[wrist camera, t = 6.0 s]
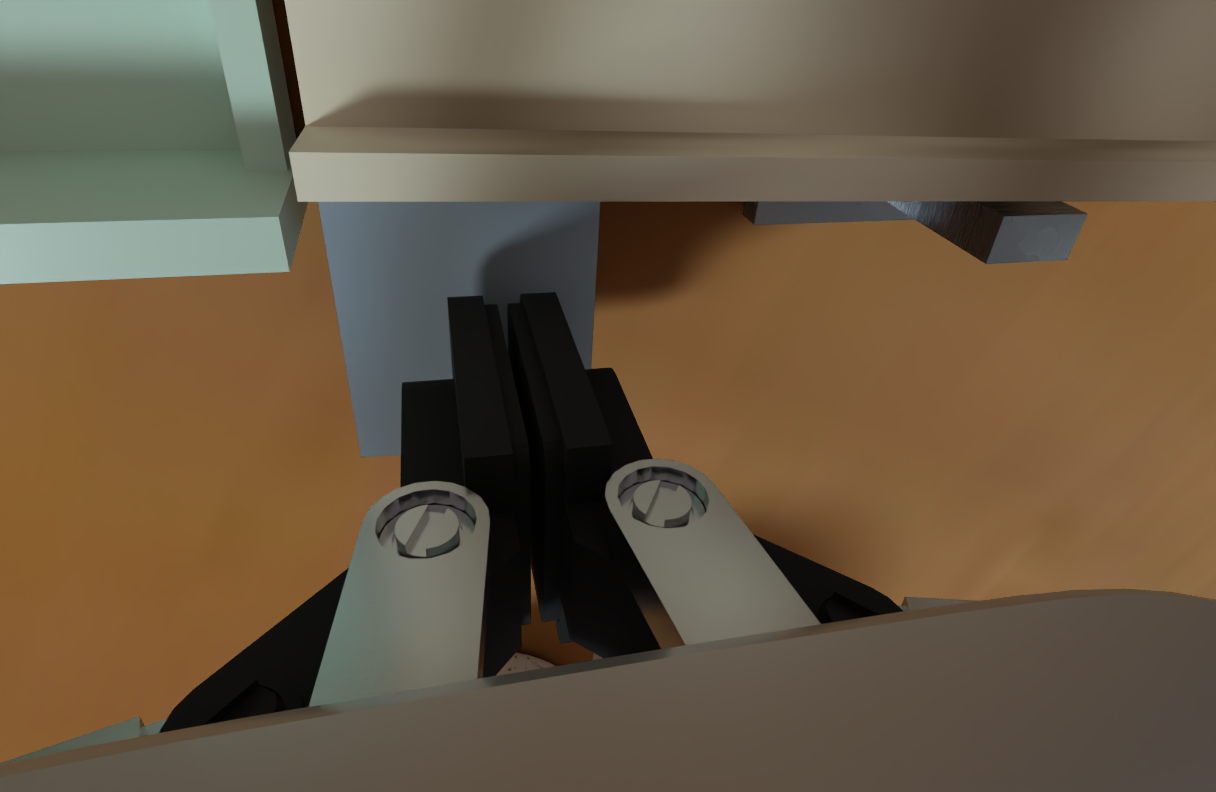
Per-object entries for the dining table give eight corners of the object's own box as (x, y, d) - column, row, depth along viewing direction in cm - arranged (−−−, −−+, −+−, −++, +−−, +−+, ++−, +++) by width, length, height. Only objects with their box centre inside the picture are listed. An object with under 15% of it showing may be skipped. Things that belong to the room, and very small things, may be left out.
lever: (1891, -414, 10) (2269, -495, 8) (1320, 373, 17) (1439, 438, 15) (174, -799, 6) (29, -1162, 4) (367, 423, 13) (350, 521, 11)
